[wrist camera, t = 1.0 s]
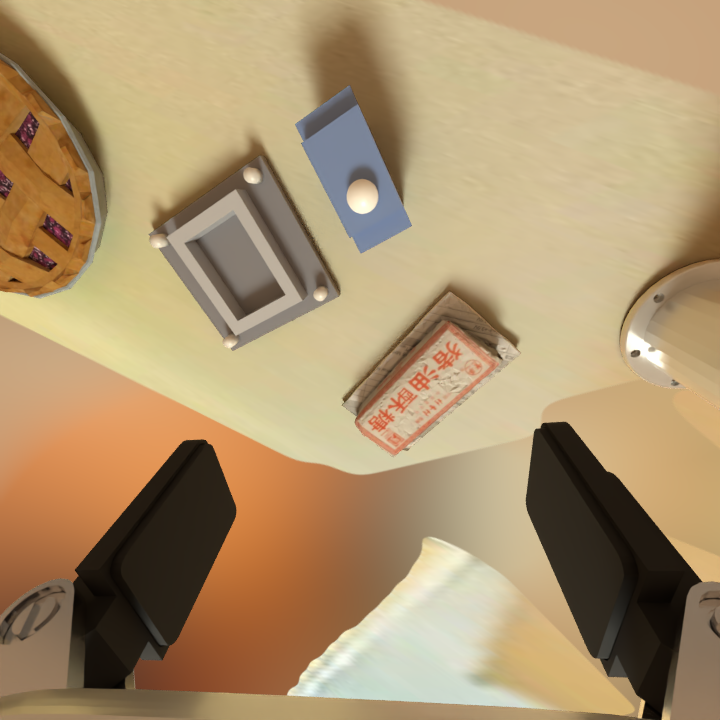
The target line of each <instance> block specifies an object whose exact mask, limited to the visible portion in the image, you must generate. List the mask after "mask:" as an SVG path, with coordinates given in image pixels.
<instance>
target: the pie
mask: <svg viewBox="0 0 720 720" xmlns="http://www.w3.org/2000/svg"><path fill="white" fill-rule="evenodd" d="M107 212H108V211H107V203H106V195H105V186H104V178H103V173H102V172H101V170H100V168H99V166H98V164H97V162H96V161H95V159H94V157H93V155H92V153H91V152H90V150H89V148H88V146H87V144H86V142H85V141H84V139H83V137H82V135H81V134H80V133H79V131H78V130H77V129H76V128H75V127H74V126H73V125H72V124H71V123H70V121H69V120H68V119H67V118H66V117H65V116H64V115H63V114H62V113H61V112H60V110H59V109H58V108H57V107H56V106H55V105H54V104H53V103H52V102H51V100H50V99H49V98H48V97H47V96H46V95H45V94H44V93H43V92H42V91H41V89H40V88H39V87H38V86H37V85H36V84H35V83H34V82H33V81H32V80H31V78H30V77H29V76H28V75H27V74H26V73H25V72H24V71H23V70H22V69H21V67H20V66H19V65H18V64H17V63H15V62H14V61H12V60H10V59H9V58H7V57H6V56H4V55H3V54H1V53H0V291H4V292H12V293H17V294H22V295H26V296H30V297H36V298H43V297H46V296H49V295H52V294H55V293H58V292H61V291H65V290H68V289H71V288H72V286H73V285H74V284H75V283H76V282H77V280H78V279H79V278H80V277H81V276H82V274H83V273H84V272H85V271H86V269H87V268H88V267H89V266H90V265H91V263H92V262H93V258H94V253H95V252H96V251H97V249H98V248H99V247H100V243H101V239H102V234H103V230H104V226H105V221H106V217H107Z"/></svg>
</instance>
